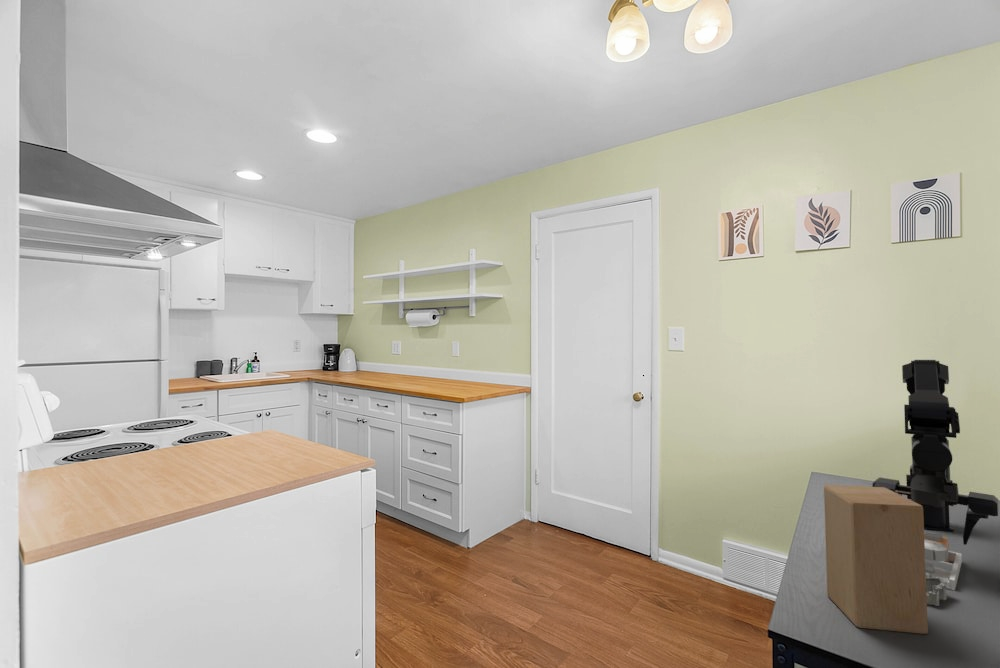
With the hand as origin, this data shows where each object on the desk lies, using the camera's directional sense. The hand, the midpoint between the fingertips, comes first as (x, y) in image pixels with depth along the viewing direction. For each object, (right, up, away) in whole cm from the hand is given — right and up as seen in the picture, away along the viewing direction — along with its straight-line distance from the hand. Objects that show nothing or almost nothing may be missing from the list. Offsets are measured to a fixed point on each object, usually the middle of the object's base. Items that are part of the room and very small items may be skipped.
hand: (933, 537), depth 96 cm
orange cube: (0, -5, 0) cm, 5 cm away
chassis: (-3, -5, -3) cm, 6 cm away
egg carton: (-15, -6, -10) cm, 19 cm away
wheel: (-6, -1, -5) cm, 8 cm away
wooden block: (-27, -5, -18) cm, 33 cm away
